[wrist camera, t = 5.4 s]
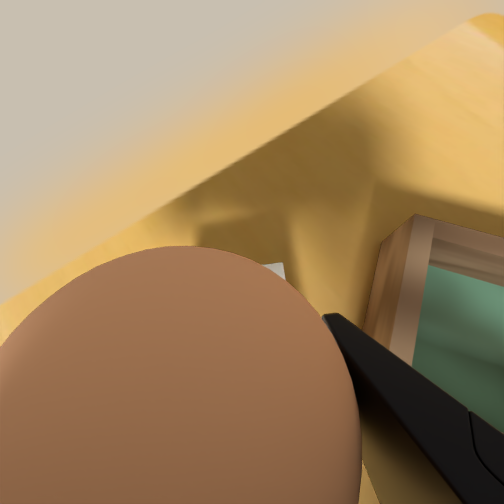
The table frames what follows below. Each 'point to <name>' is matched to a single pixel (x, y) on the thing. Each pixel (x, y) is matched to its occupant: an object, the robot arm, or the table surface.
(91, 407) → the ball
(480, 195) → the table surface
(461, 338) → the wooden crate
